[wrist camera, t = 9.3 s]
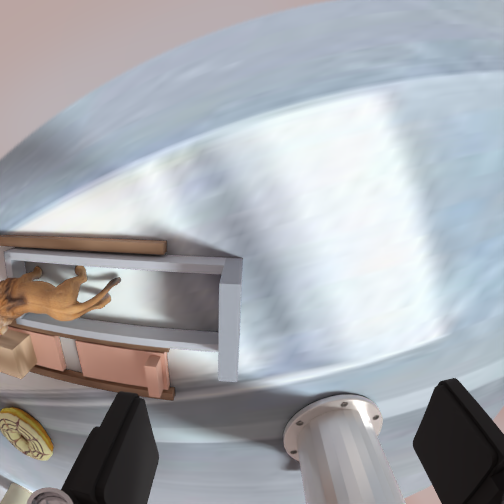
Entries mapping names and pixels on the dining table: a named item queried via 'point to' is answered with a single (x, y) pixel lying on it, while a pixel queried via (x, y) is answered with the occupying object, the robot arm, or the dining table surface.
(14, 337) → the cube
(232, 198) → the dining table surface
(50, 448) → the decorated donut
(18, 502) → the can
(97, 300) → the lion figurine
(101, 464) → the robot arm
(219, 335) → the grey long open box
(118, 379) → the broken strip
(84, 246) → the lane rails
